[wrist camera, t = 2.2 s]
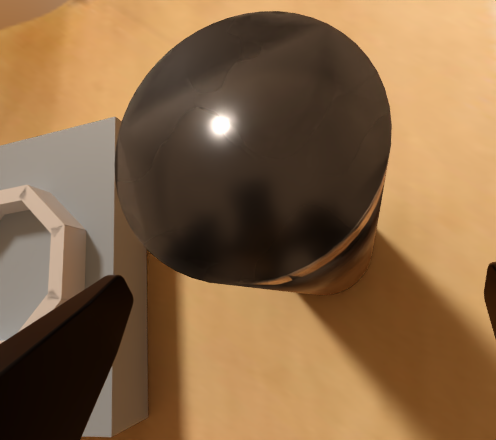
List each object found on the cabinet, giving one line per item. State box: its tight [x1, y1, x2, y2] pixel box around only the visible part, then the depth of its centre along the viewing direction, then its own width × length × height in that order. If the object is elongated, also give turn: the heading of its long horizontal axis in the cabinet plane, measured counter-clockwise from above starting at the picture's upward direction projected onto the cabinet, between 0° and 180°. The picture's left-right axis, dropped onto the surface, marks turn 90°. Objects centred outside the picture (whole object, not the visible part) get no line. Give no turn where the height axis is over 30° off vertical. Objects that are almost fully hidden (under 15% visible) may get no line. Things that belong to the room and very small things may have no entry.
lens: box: [114, 11, 392, 295], centre depth 12 cm, size 5×5×13 cm
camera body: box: [0, 117, 148, 437], centre depth 21 cm, size 16×12×4 cm
